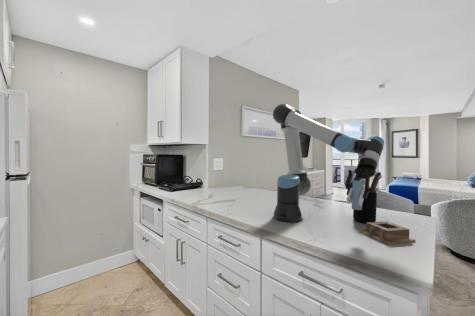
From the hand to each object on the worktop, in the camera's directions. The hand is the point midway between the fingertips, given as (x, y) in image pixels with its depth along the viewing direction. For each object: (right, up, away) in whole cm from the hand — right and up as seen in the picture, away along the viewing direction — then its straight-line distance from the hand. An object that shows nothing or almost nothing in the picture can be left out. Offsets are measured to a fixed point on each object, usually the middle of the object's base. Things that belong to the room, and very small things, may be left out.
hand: (353, 202), depth 92 cm
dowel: (+3, -3, +3) cm, 5 cm away
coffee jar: (+20, -15, +26) cm, 36 cm away
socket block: (+17, -16, +4) cm, 23 cm away
